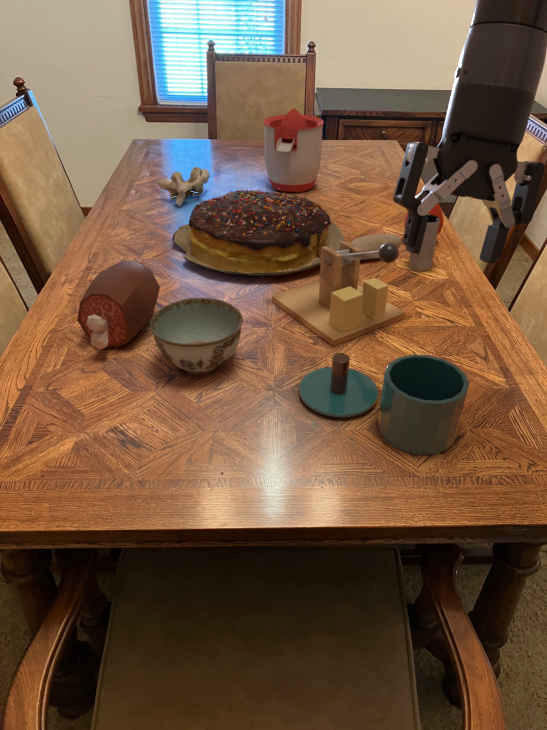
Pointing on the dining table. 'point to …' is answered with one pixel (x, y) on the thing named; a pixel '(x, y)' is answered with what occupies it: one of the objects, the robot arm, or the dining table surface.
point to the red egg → (434, 211)
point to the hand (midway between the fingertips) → (450, 257)
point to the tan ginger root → (185, 184)
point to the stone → (375, 241)
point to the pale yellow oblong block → (346, 309)
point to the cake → (257, 233)
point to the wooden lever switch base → (316, 298)
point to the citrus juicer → (293, 150)
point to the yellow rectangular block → (374, 298)
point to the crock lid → (338, 389)
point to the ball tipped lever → (372, 254)
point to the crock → (422, 404)
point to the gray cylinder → (426, 246)
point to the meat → (118, 303)
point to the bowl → (197, 333)
